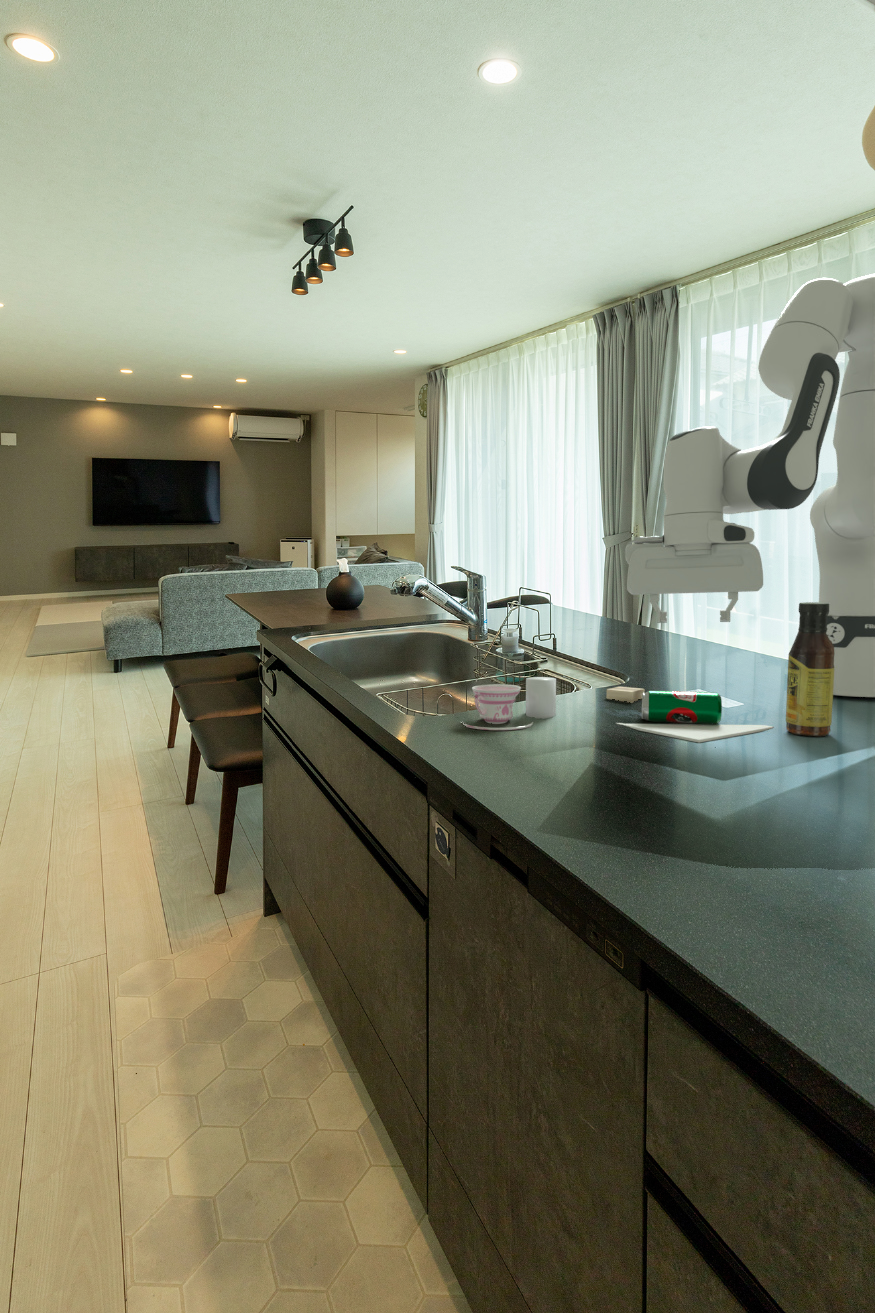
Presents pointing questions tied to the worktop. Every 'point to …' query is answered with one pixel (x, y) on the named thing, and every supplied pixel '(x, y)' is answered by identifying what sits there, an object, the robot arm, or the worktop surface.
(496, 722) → the teacup
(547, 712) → the grey cylinder
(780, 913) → the worktop surface
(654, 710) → the soda can
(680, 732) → the mat
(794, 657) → the sauce bottle
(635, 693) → the birch block
